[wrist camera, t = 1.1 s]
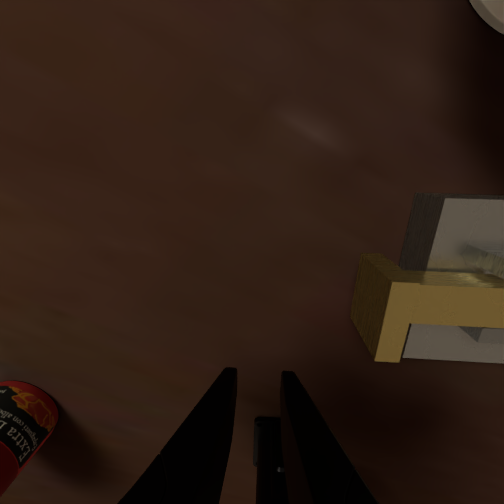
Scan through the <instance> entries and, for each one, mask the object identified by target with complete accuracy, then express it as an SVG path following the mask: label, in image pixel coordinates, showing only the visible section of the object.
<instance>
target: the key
mask: <svg viewBox="0 0 504 504" xmlns="http://www.w3.org/2000/svg"><path fill="white" fill-rule="evenodd" d="M350 317H351V319H352V321H353V323H354V324H355V326H356V328H357V330H358V332H359V334H360V335H361V337H362V339H363V341H364V343H365V344H366V346H367V348H368V350H369V352H370V354H371V355H372V357H373V359H374V361H381V362H398V363H399V361H400V357H401V353H402V350H403V346H404V342H405V338H406V334H407V331H408V327H409V323H411V324H431V325H450V326H469V327H489V328H504V279H503V278H501V277H499V276H497V275H494V274H482V273H458V272H434V271H410V270H402V269H401V268H399V267H398V266H397V265H396V264H394V263H393V262H392V261H390V260H389V259H388V258H386V257H385V256H384V255H383V254H377V253H361V256H360V261H359V267H358V273H357V279H356V285H355V290H354V296H353V302H352V308H351V314H350Z"/></svg>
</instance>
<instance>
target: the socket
mask: <svg viewBox="0 0 504 504" xmlns="http://www.w3.org/2000/svg"><path fill="white" fill-rule="evenodd" d="M399 268H401V269H402V270H410V271H434V272H458V273H482V274H494V275H497V276H499V277H501V278H503V279H504V195H476V194H439V193H415V197H414V201H413V206H412V210H411V215H410V219H409V223H408V228H407V232H406V236H405V241H404V245H403V250H402V254H401V258H400V263H399ZM401 356H402V357H403V358H418V359H435V360H453V361H470V362H487V363H504V328H489V327H469V326H450V325H431V324H411V323H409V327H408V331H407V334H406V338H405V342H404V346H403V350H402V353H401Z"/></svg>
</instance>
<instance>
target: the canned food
mask: <svg viewBox="0 0 504 504" xmlns="http://www.w3.org/2000/svg"><path fill="white" fill-rule="evenodd" d="M58 416H59V415H58V410H57V407H56V405H55V403H54V402H53V400H52V399H51V398H50V397H49V396H48V395H47V394H46V393H45V392H44V391H42V390H41V389H39V388H37V387H35V386H33V385H31V384H28V383H24V382H19V381H4V382H0V497H1V496H2V494H3V493H4V492H5V491H6V489H7V488H8V487H9V486H10V484H11V483H12V482H13V481H14V479H15V478H16V477H17V476H18V474H19V473H20V472H21V471H22V469H23V468H24V467H25V466H26V464H27V463H28V462H29V461H30V459H31V458H32V457H33V456H34V454H35V453H36V452H37V451H38V450H39V448H40V447H41V446H42V445H43V443H44V442H45V441H46V440H47V438H48V437H49V436H50V435H51V433H52V431H53V429H54V427H55V425H56V423H57V421H58Z"/></svg>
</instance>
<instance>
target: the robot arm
mask: <svg viewBox="0 0 504 504" xmlns="http://www.w3.org/2000/svg"><path fill="white" fill-rule="evenodd" d="M236 396H237V369H236V368H231V367H226V368H225V369H224V370H223V371H222V372H221V374H220V375H219V376H218V378H217V379H216V380H215V381H214V383H213V384H212V385H211V387H210V388H209V389H208V391H207V392H206V393H205V394H204V396H203V397H202V398H201V400H200V401H199V402H198V403H197V405H196V406H195V407H194V409H193V410H192V411H191V413H190V414H189V415H188V416H187V418H186V419H185V420H184V422H183V423H182V424H181V426H180V427H179V428H178V429H177V431H176V432H175V433H174V435H173V436H172V437H171V438H170V440H169V441H168V442H167V444H166V445H165V446H164V448H163V449H162V450H161V451H160V454H158V455H157V456H156V458H155V459H154V460H153V462H152V463H151V464H150V466H149V467H148V468H147V469H146V471H145V472H144V473H143V474H142V475H141V477H140V478H139V479H138V480H137V482H136V483H135V484H134V485H133V487H132V488H131V489H130V490H129V491H128V492H127V493H126V494H125V496H124V497H123V498H122V499H121V500H120V501H119V502H118V503H117V504H219V500H220V495H221V491H222V486H223V481H224V476H225V472H226V467H227V462H228V457H229V452H230V447H231V442H232V435H233V426H234V416H235V406H236ZM280 409H281V419H280V418H266V417H257V418H256V419H255V424H254V453H253V465H254V466H256V467H257V484H256V504H379V503H378V502H377V500H376V499H375V497H374V496H373V494H372V493H371V491H370V490H369V488H368V487H367V485H366V484H365V482H364V480H363V479H362V477H361V476H360V474H359V473H358V471H357V470H355V466H354V465H353V463H352V462H351V460H350V459H349V457H348V456H347V454H346V452H345V451H344V449H343V448H342V446H341V445H340V443H339V441H338V440H337V438H336V437H335V435H334V434H333V432H332V430H331V429H330V427H329V426H328V424H327V423H326V421H325V420H324V418H323V416H322V415H321V413H320V412H319V410H318V409H317V407H316V405H315V404H314V402H313V401H312V399H311V398H310V396H309V394H308V393H307V391H306V390H305V388H304V387H303V385H302V384H301V382H300V380H299V379H298V377H297V376H296V374H295V373H294V372H293V371H282V374H281V387H280Z"/></svg>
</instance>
